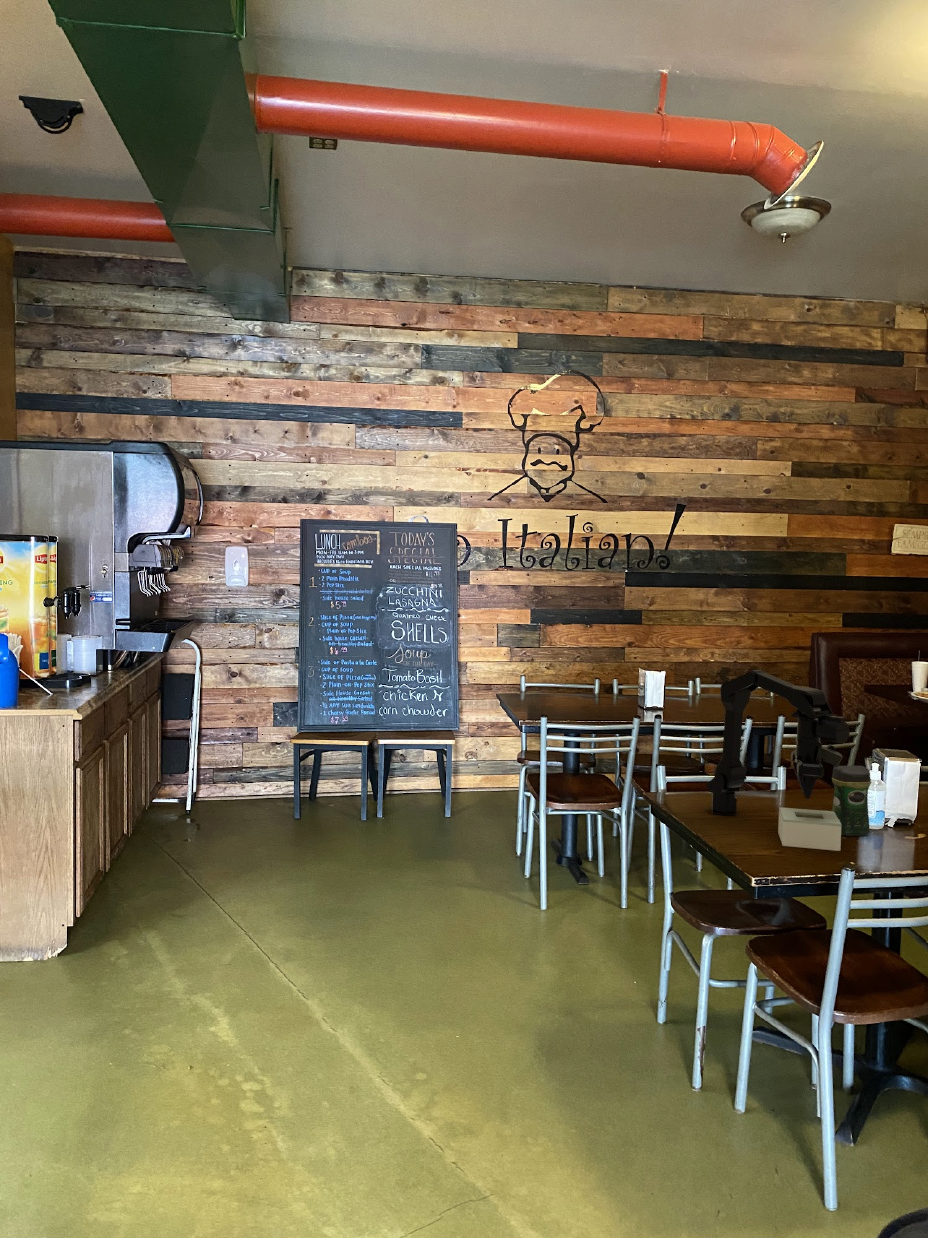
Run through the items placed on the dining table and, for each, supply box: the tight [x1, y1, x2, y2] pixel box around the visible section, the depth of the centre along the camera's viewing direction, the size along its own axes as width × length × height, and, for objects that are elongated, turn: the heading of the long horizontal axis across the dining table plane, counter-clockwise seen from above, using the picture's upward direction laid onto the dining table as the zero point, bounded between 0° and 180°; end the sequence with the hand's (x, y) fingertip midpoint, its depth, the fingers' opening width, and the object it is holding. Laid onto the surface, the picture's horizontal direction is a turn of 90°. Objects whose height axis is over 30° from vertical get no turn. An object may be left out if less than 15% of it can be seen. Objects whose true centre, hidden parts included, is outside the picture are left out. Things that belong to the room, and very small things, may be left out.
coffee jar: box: [831, 765, 872, 837], centre depth 240 cm, size 10×8×19 cm
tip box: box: [777, 806, 842, 852], centre depth 232 cm, size 14×12×7 cm
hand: (805, 794), depth 234 cm, fingers open, 9 cm apart
